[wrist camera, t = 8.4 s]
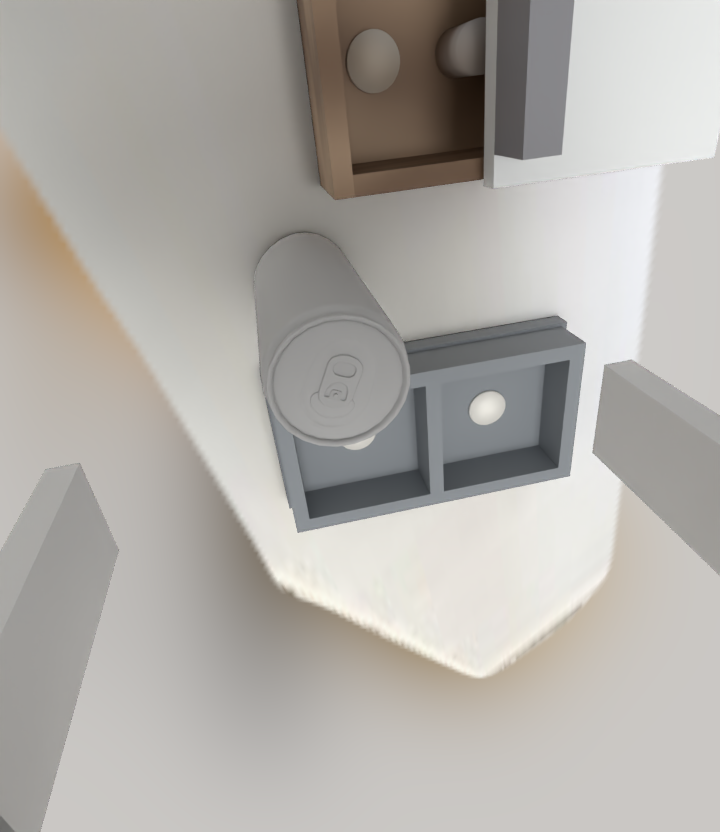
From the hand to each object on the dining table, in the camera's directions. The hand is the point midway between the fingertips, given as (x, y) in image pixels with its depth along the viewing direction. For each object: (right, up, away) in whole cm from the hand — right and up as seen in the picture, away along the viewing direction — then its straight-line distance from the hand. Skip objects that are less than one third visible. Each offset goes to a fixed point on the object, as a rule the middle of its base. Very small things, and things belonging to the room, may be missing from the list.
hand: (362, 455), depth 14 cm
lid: (+9, +15, +6) cm, 19 cm away
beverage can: (-3, +8, +13) cm, 16 cm away
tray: (+2, +16, +9) cm, 19 cm away
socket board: (+3, +1, +18) cm, 19 cm away
